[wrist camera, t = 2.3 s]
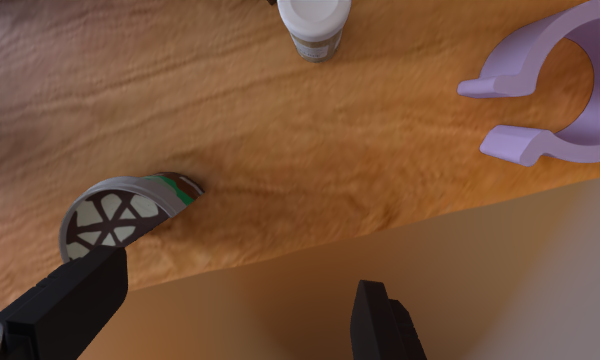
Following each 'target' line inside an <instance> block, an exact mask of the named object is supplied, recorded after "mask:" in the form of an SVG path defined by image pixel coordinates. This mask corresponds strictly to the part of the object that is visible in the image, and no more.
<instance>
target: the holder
mask: <svg viewBox="0 0 600 360" xmlns="http://www.w3.org/2000/svg"><path fill="white" fill-rule="evenodd" d="M267 1H268V2H269V4H270V5H271V6H272V5H273V4H274V3H275V2H276V1H277V0H267Z"/></svg>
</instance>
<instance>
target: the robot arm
mask: <svg viewBox="0 0 600 360" xmlns="http://www.w3.org/2000/svg"><path fill="white" fill-rule="evenodd" d="M127 291H128V273H127V254H126V250H125V248H123V247H117V246H110V245H102V244H100V245H97V246H96V247H95V248H93V249H92V250H91V251H90V252H88V253H87V254H86V255H85V256H83V257H78V258H76V259H74V260H71V261H69V262H67V263H65V264H63V265H61V266H59V267H58V268H57V269H56V270H54V271H53V272H52V273H50V274H49V275H48V277H47V278H44V279H43V280H41V281H40V282H39V283H37V284H36V286H35V287H32V288H31V289H29V290H28V291H27V292H26V293H24V294H23V295H22V296H20V297H19V298H18V299H16V300H15V301H14V302H13V303H11V304H10V305H9V306H7V307H6V308H5V309H3V310H2V311H1V312H0V360H77V358H78V357H79V356H80V355H81V353H82V352H83V351H84V350H85V349H86V347H87V346H88V345H89V344H90V343H91V341H92V340H93V339H94V338H95V336H96V335H97V334H98V333H99V332H100V330H101V329H102V328H103V327H104V326H105V324H106V323H107V322H108V321H109V320H110V318H111V317H112V316H113V314H114V313H115V312H116V311H117V310H118V309H119V307H120V306H121V305H122V303H123V302H124V300H125V297H126V294H127ZM413 326H414V325H413V323H412V320H411V317H410V315H409V312H408V311H407V310H406V309H405V308H404V307H403V305H402V304H401V303H400V302H399V301H398V300H393V299H388V296H387V292H386V290H385V286H384V284H383V283H382V282H375V281H367V280H360V281H359V284H358V288H357V293H356V298H355V302H354V307H353V311H352V316H351V324H350V335H351V343H352V351H353V358H354V360H427V358H426V356H425V353H424V350H423V348H422V345H421V343H420V340H419V339H418V335H417V333H416V330H415V328H414V327H413Z"/></svg>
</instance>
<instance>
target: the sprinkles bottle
mask: <svg viewBox="0 0 600 360" xmlns="http://www.w3.org/2000/svg"><path fill="white" fill-rule="evenodd" d="M351 1H352V0H277V2H278V8H279V12H280V15H281V17H282V20H283V22H284V24H285V26H286V27H287V29H288V30H289V32H290V34H291V37H292V39H293V41H294V43H295V47H296V49H297V51H298V53H299V54H300V56H302V57H303V58H304V59H305V60H307V61H309V62H313V63H320V62H324V61H327V60H328V59H330V58H331V57H332V56H333V55H334V54H335V53H336V51H337V49H338V46H339V44H340V38H341V34H342V29H343V25H344V24H345V22H346V20H347V18H348V15H349V11H350V7H351Z"/></svg>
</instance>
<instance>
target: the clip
mask: <svg viewBox="0 0 600 360" xmlns="http://www.w3.org/2000/svg"><path fill="white" fill-rule="evenodd" d="M562 37H565V38H568V39H570V40H572V41H574V42H576V43H577V44H578V45H580V46H581V47H582V48H583V49H584V50H585V52H586V53H587V54H588V56H589V58H590V60H591V62H592V65H593V69H594V88H593V92H592V95H591V98H590V100H589V103H588V104H587V106H586V108H585V109H584V111H583V112H582V114H581V115H580V116H579V117H578V118H577V119H576V120H575V121H574V122H573V123H572V124H571V125H569V126H568V127H566V128H565V129H563V130H561V131H559V132H557V133H555V134H553V133H552V132H551V131H549V130H543V129H534V128H525V127H516V126H507V125H497V126H496V127H495V128H493V129H492V130H491V131H490V132H489V133H488V134H487V136H486V138H485V139H484V141H483V142H482V144H481V145H480V151H481V152H482V153H484V154H487V155H490V156H493V157H497V158H500V159H503V160H507V161H510V162H513V163H517V164H520V165H524V166H527V167H530V166H532V165H534V164H535V163H536V161H537V160H538V158H539V157H540V156H541V155H544V156H549V157H553V158H558V159H562V160H567V161H571V162H579V163H593V162H600V0H591V1H588V2H585V3H582V4H580V5H577V6H575V7H572V8H570V9H567V10H564V11H562V12H559V13H557V14H554V15H551V16H549V17H546V18H544V19H541V20H539V21H536V22H533V23H531V24H528V25H526V26H523V27H521V28H519V29H518V30H516V31H514V32H513V33H511V34H510V35H508V36H507V37H506V38H505V39H503V40H502V41H501V42H500V43H499V44H498V45H497V46H496V47H495V49H494V50H493V51H492V52H491V54H490V55H489V57H488V58H487V60H486V62H485V63H484V65H483V68H482V70H481V72H480V75H479V78H478V79H474V80H468V81H462V82H461V83H460V84H459V85H458V89H457V92H458V94H459V95H462V96H467V97H472V98H494V97H517V96H524V95H530V94H532V93H533V92H534V91H535V88H536V82H537V77H538V74H539V71H540V68H541V66H542V64H543V62H544V60H545V58H546V56H547V55H548V53H549V52H550V51H551V49H552V48H553V47H554V46H555V44H556V43H557V42H558V41H559V40H560V39H561V38H562Z"/></svg>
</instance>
